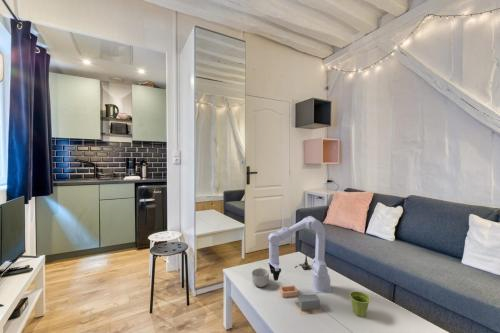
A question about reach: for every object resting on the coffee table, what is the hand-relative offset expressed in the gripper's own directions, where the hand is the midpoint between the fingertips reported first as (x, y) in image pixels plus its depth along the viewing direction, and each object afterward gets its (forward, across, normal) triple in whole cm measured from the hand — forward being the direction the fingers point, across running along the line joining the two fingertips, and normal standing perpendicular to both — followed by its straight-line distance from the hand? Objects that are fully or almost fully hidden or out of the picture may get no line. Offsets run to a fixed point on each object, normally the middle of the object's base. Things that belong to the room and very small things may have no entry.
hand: (274, 276), depth 133 cm
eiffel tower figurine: (+11, -25, +30) cm, 41 cm away
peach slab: (+10, +2, +8) cm, 13 cm away
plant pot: (+10, +23, +39) cm, 46 cm away
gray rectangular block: (+10, +15, +15) cm, 23 cm away
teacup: (+10, -12, -6) cm, 17 cm away
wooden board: (+10, +15, +15) cm, 23 cm away
